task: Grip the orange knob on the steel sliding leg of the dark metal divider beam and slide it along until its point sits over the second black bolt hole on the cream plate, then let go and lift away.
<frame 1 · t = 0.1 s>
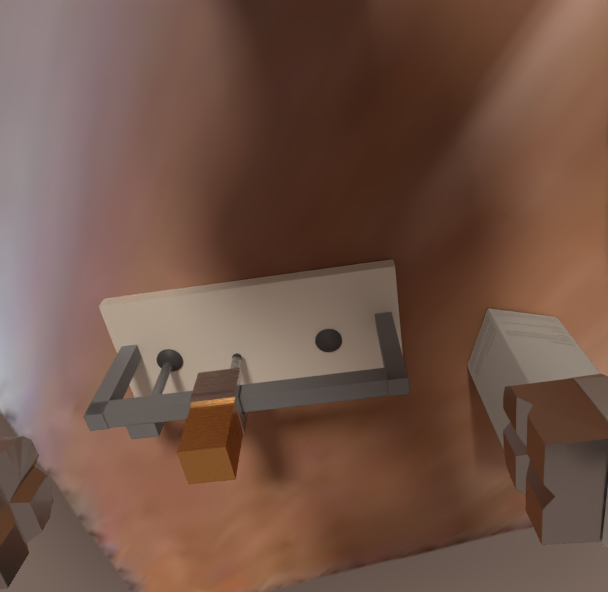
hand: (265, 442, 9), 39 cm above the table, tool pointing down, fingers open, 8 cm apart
hole plate: (259, 340, 55), on the table
supplement box: (510, 341, 55), on the table
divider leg: (222, 395, 46), point 10 cm above the table, slide at -2.0 cm
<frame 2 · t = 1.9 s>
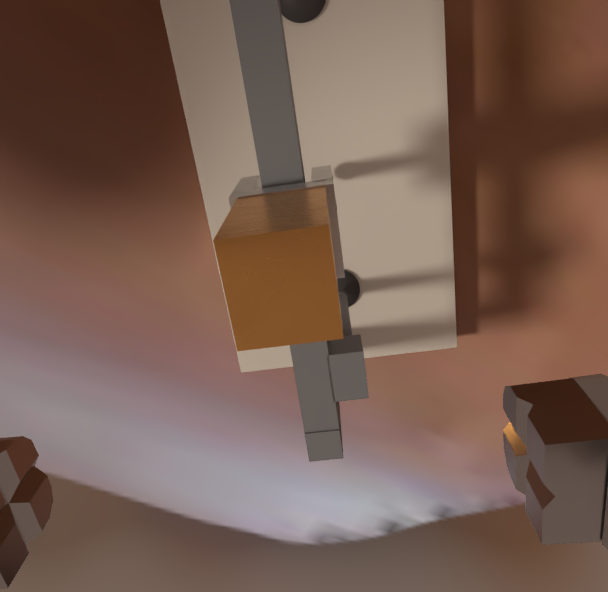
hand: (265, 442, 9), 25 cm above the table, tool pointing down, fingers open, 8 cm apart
hole plate: (318, 134, 31), on the table
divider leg: (292, 218, 23), point 10 cm above the table, slide at -2.0 cm
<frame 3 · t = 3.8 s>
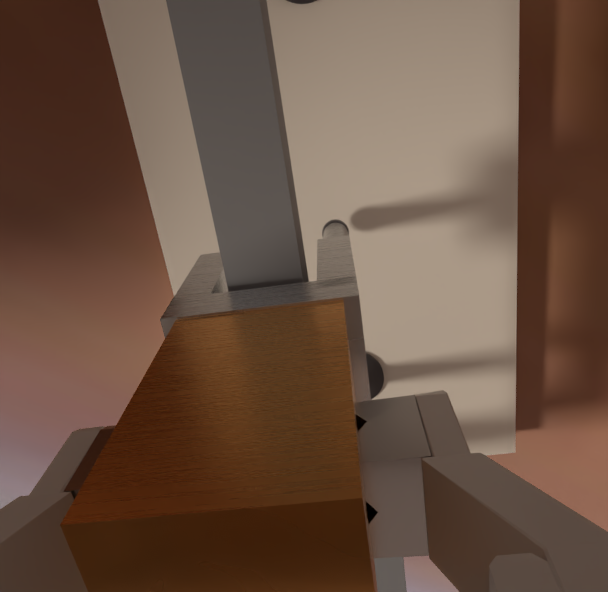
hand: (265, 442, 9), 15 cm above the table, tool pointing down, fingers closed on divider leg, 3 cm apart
hole plate: (327, 166, 22), on the table
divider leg: (284, 325, 13), point 10 cm above the table, slide at -2.0 cm, touching gripper
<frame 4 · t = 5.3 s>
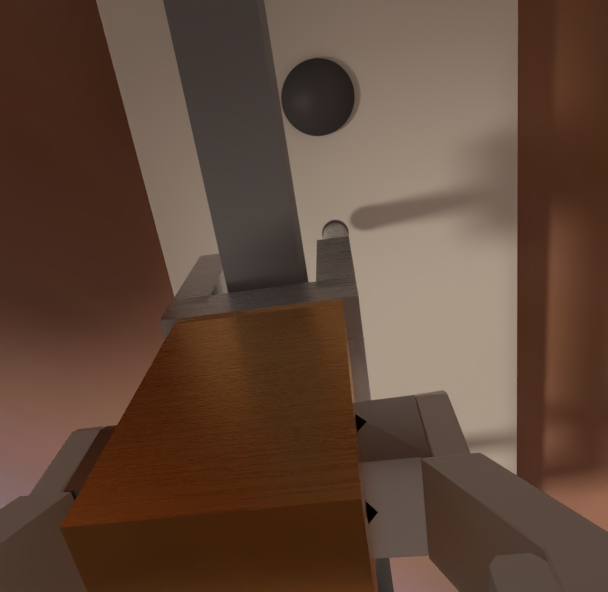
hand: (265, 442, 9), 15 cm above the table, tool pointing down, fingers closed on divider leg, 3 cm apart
hole plate: (340, 265, 23), on the table
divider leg: (284, 326, 13), point 10 cm above the table, slide at 2.3 cm, touching gripper
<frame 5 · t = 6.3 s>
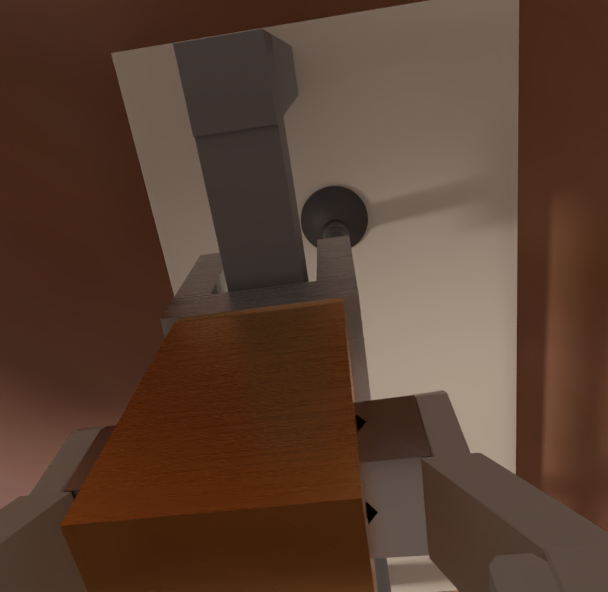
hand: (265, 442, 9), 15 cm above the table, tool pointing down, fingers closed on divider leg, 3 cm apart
hole plate: (352, 356, 25), on the table
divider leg: (284, 325, 13), point 10 cm above the table, slide at 6.8 cm, touching gripper
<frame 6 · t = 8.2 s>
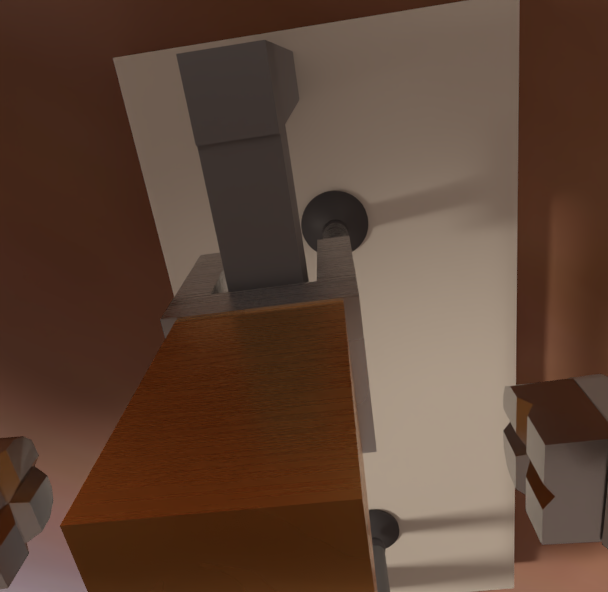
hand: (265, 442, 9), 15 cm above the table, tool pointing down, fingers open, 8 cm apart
hole plate: (352, 359, 25), on the table
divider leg: (284, 325, 13), point 10 cm above the table, slide at 7.0 cm
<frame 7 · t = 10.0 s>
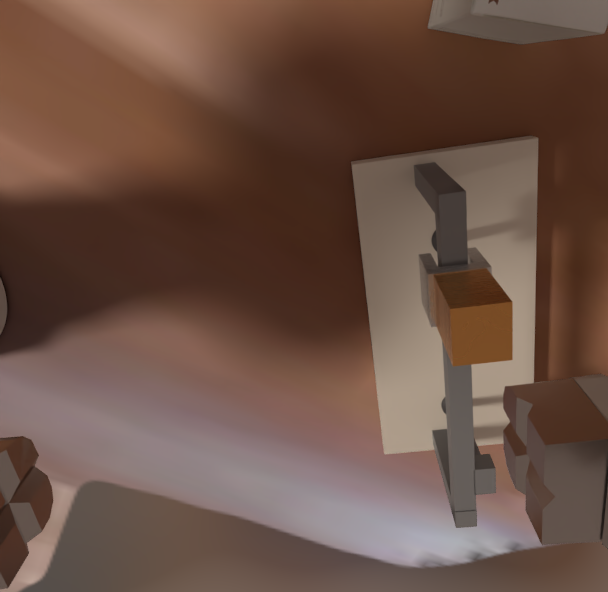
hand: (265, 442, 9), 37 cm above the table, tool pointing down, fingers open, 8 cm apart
hole plate: (447, 309, 48), on the table
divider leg: (451, 280, 36), point 10 cm above the table, slide at 7.0 cm
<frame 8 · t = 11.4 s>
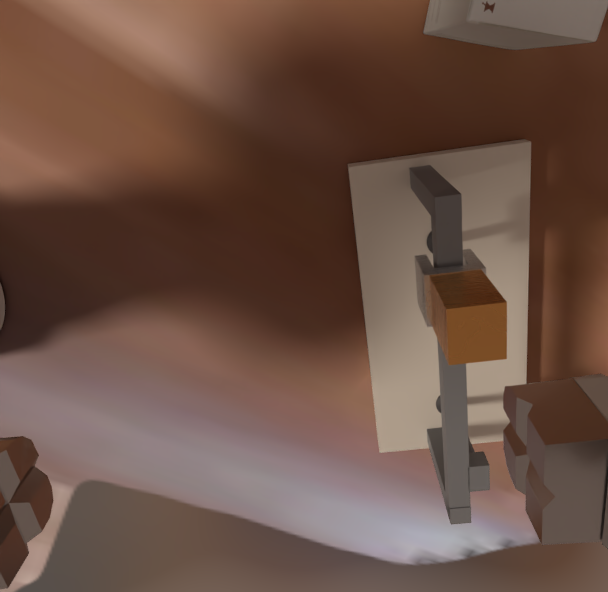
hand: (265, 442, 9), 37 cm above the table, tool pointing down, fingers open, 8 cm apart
hole plate: (442, 309, 49), on the table
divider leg: (447, 281, 37), point 10 cm above the table, slide at 7.0 cm
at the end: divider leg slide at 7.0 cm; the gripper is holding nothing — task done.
